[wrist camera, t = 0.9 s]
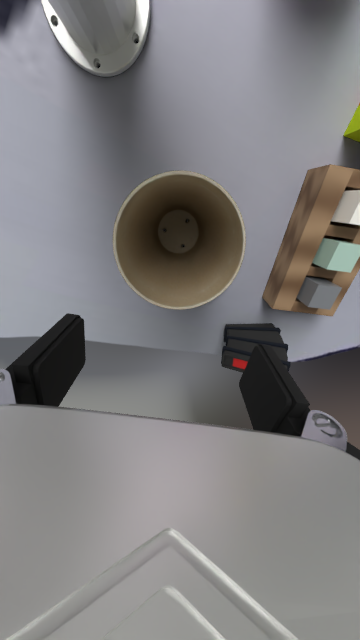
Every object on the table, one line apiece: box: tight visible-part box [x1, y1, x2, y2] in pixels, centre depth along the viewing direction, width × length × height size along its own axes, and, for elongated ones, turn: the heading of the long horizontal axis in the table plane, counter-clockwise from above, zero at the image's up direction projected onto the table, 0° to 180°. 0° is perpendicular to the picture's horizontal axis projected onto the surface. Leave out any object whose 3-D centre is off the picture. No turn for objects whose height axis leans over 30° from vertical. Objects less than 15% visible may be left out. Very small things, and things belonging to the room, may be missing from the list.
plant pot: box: [113, 171, 246, 310], centre depth 30 cm, size 15×15×16 cm
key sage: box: [312, 238, 360, 273], centre depth 33 cm, size 4×4×5 cm
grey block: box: [296, 276, 342, 310], centre depth 36 cm, size 4×4×5 cm
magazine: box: [221, 323, 290, 372], centre depth 43 cm, size 4×13×15 cm, turn 91°
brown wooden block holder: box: [262, 164, 360, 316], centre depth 36 cm, size 22×12×6 cm, turn 172°
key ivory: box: [331, 190, 360, 226], centre depth 30 cm, size 4×4×5 cm
